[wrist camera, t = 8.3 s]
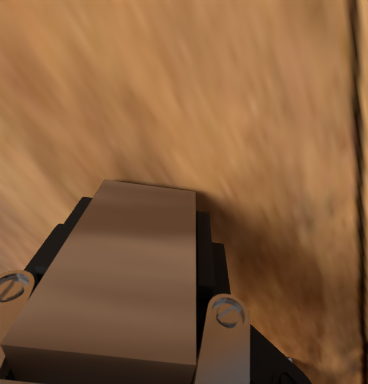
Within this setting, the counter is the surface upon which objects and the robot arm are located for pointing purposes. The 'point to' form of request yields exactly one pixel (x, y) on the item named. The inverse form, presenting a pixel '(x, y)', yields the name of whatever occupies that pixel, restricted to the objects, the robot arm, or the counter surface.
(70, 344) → the cube on stick
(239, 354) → the robot arm
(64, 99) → the counter surface
